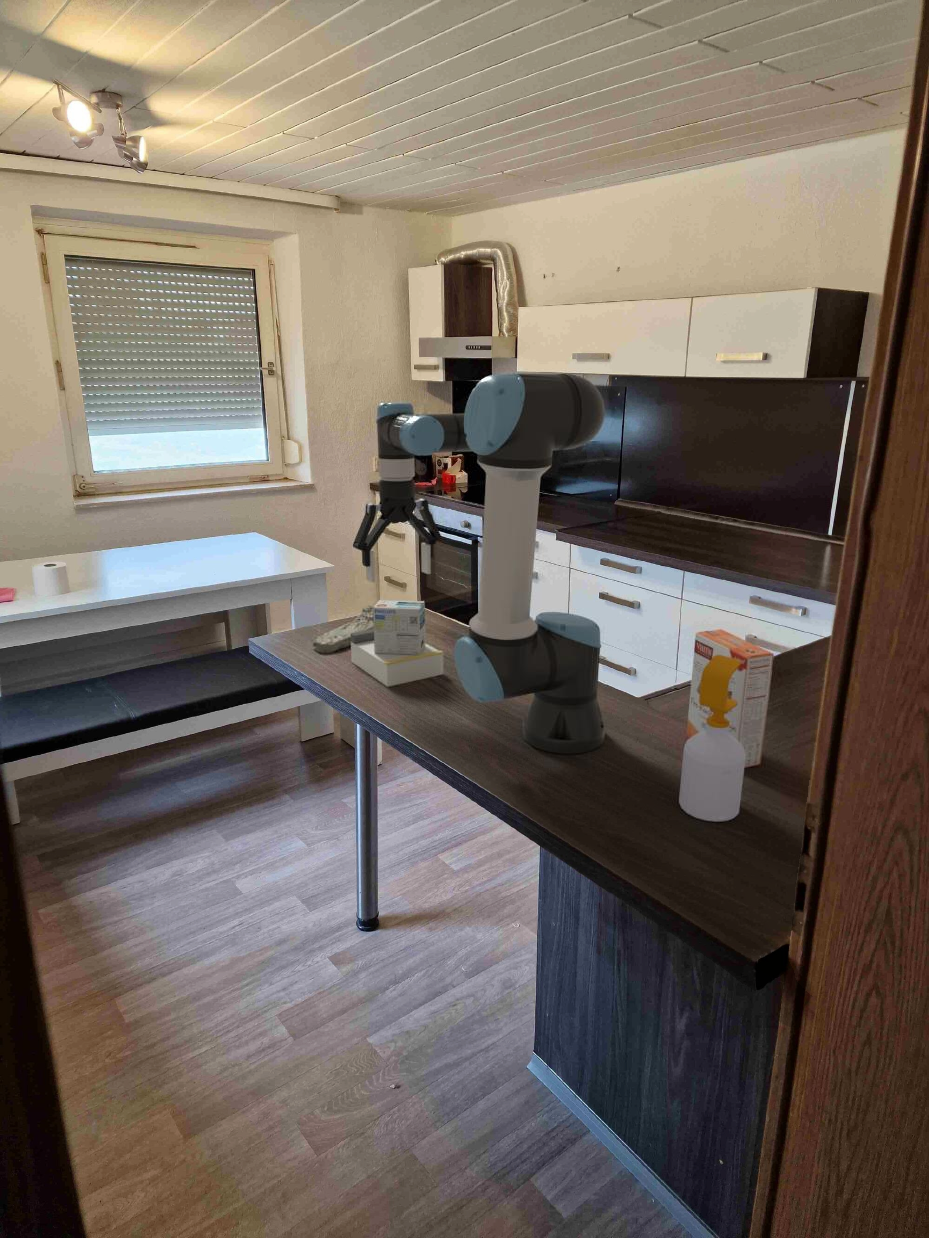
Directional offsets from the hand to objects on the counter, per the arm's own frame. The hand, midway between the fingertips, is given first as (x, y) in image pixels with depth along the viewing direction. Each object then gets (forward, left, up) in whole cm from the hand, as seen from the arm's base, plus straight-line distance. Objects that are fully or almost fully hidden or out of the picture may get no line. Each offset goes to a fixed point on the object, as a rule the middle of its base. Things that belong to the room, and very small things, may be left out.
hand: (399, 576), depth 176 cm
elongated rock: (+29, -5, -23) cm, 37 cm away
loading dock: (+2, 0, -22) cm, 22 cm away
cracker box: (-66, -30, -22) cm, 75 cm away
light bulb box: (0, 0, -17) cm, 17 cm away
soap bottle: (-78, -13, -22) cm, 82 cm away
